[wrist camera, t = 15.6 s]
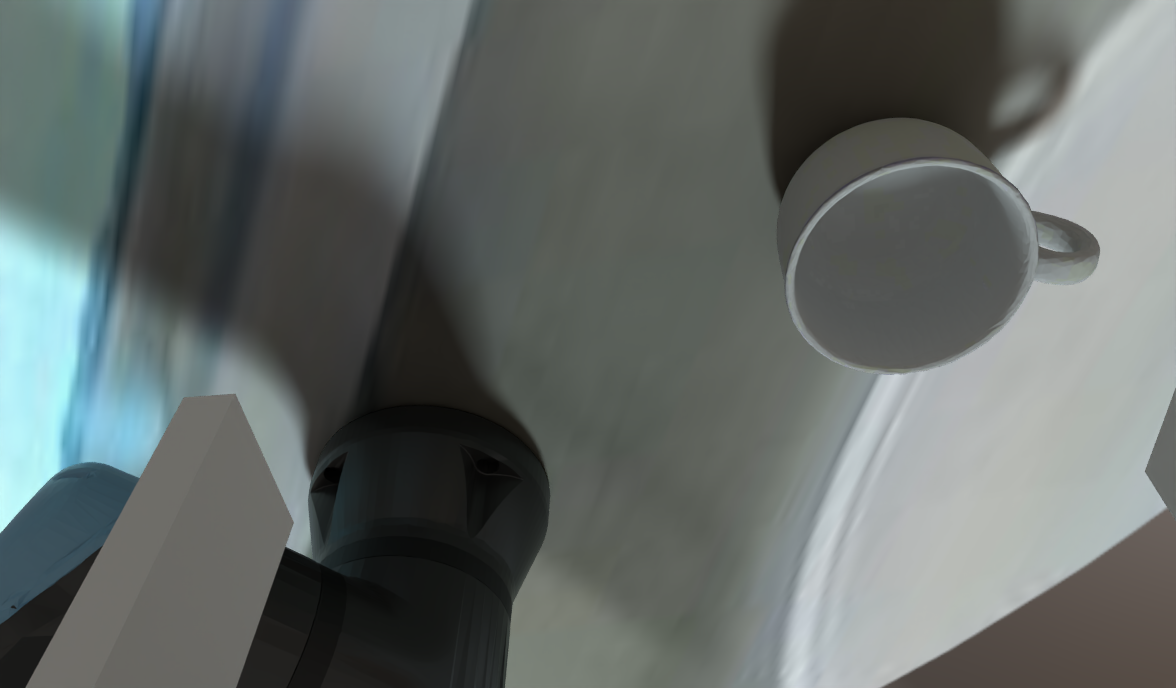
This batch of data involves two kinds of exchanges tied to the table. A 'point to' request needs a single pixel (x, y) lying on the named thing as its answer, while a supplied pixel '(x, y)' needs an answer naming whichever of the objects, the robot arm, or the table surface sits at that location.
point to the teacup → (913, 247)
